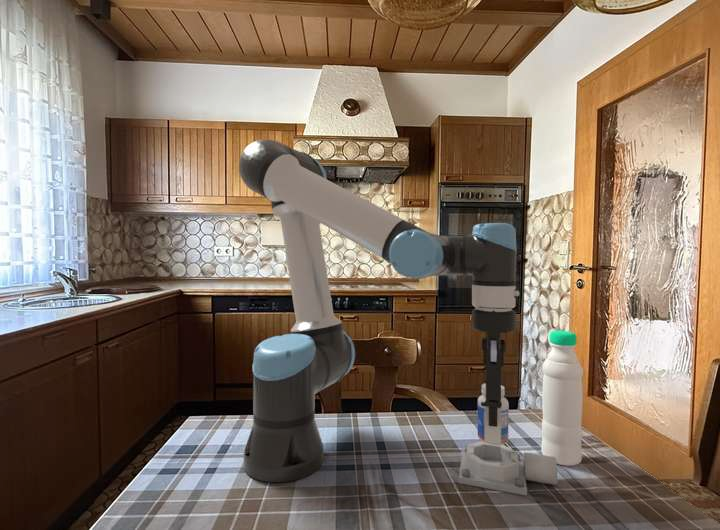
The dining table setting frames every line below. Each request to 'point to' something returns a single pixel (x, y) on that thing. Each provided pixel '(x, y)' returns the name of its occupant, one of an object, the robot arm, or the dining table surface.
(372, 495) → the dining table surface
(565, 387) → the water bottle
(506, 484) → the fitting
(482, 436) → the pill bottle
